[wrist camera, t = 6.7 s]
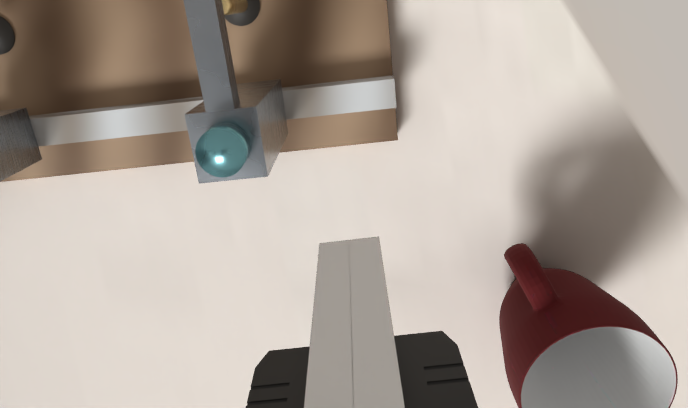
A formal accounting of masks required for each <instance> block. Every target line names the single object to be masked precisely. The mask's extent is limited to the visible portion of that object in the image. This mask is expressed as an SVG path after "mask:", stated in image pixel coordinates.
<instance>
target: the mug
mask: <svg viewBox="0 0 688 408" xmlns="http://www.w3.org/2000/svg"><path fill="white" fill-rule="evenodd" d="M504 257H505V259H506V261H507V262H508V264H509V266H510V268H511V269H512V271H513V273H514V275H515V277H516V278H517V279H516V280H515V281H514V282H513V283H512V285H511V286H510V288H509V290H508V291H507V293H506V295H505V298H504V300H503V302H502V306H501V310H500V318H499V320H500V332H501V340H502V347H503V355H504V363H505V369H506V374H507V378H508V382H509V385H510V388H511V391H512V393H513V396H514V398H515V400H516V403H517V405H518V407H519V408H670V406H671V404H672V402H673V399H674V397H675V394H676V389H677V369H676V366H675V363H674V360H673V358H672V356H671V354H670V353H669V351H668V350H667V348H666V347H665V346H664V345H663V343H662V342H661V341H660V340H659V338H658V337H657V336H656V335H655V334H654V332H653V331H652V330H651V329H650V328H649V327H648V326H647V324H646V323H645V322H644V321H643V320H642V319H641V318H640V317H639V316H638V315H637V314H635V313H634V312H633V311H632V310H630V309H629V308H628V307H627V306H625V305H624V304H623V303H621V302H620V301H618V300H617V299H615V298H614V297H612V296H611V295H610V294H608V293H607V292H605V291H604V290H602V289H601V288H600V287H598V286H597V285H595V284H594V283H592V282H591V281H589V280H588V279H586V278H584V277H583V276H581V275H579V274H576V273H574V272H570V271H567V270H562V269H553V268H542V267H541V265H540V263H539V262H538V260H537V259H536V257H535V256H534V254H533V252H532V251H531V250H530V248H529V247H528V246H527V245H526V244H523V243H521V244H516V245H513V246H512V247H510V248H508V249H507V250H506V252H505V254H504Z"/></svg>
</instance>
